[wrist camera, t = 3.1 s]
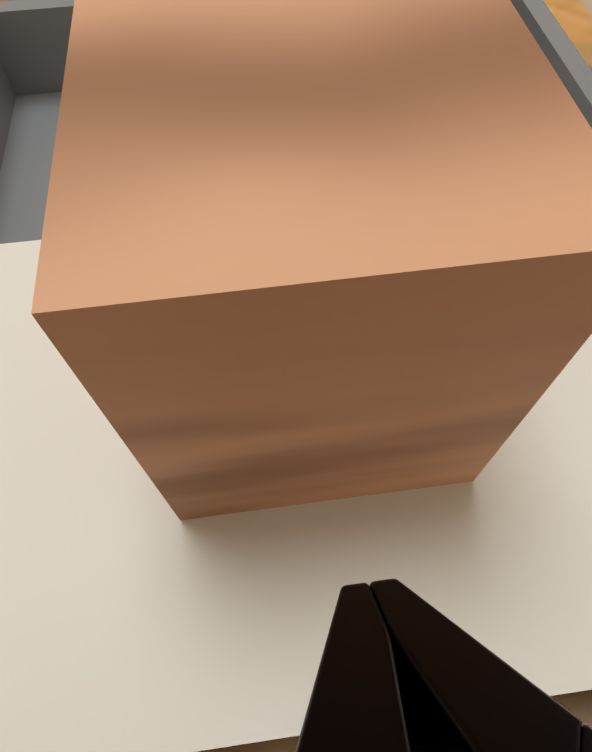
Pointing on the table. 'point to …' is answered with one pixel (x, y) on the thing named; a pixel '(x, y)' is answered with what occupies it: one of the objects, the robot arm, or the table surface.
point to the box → (45, 81)
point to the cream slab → (252, 567)
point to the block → (313, 240)
